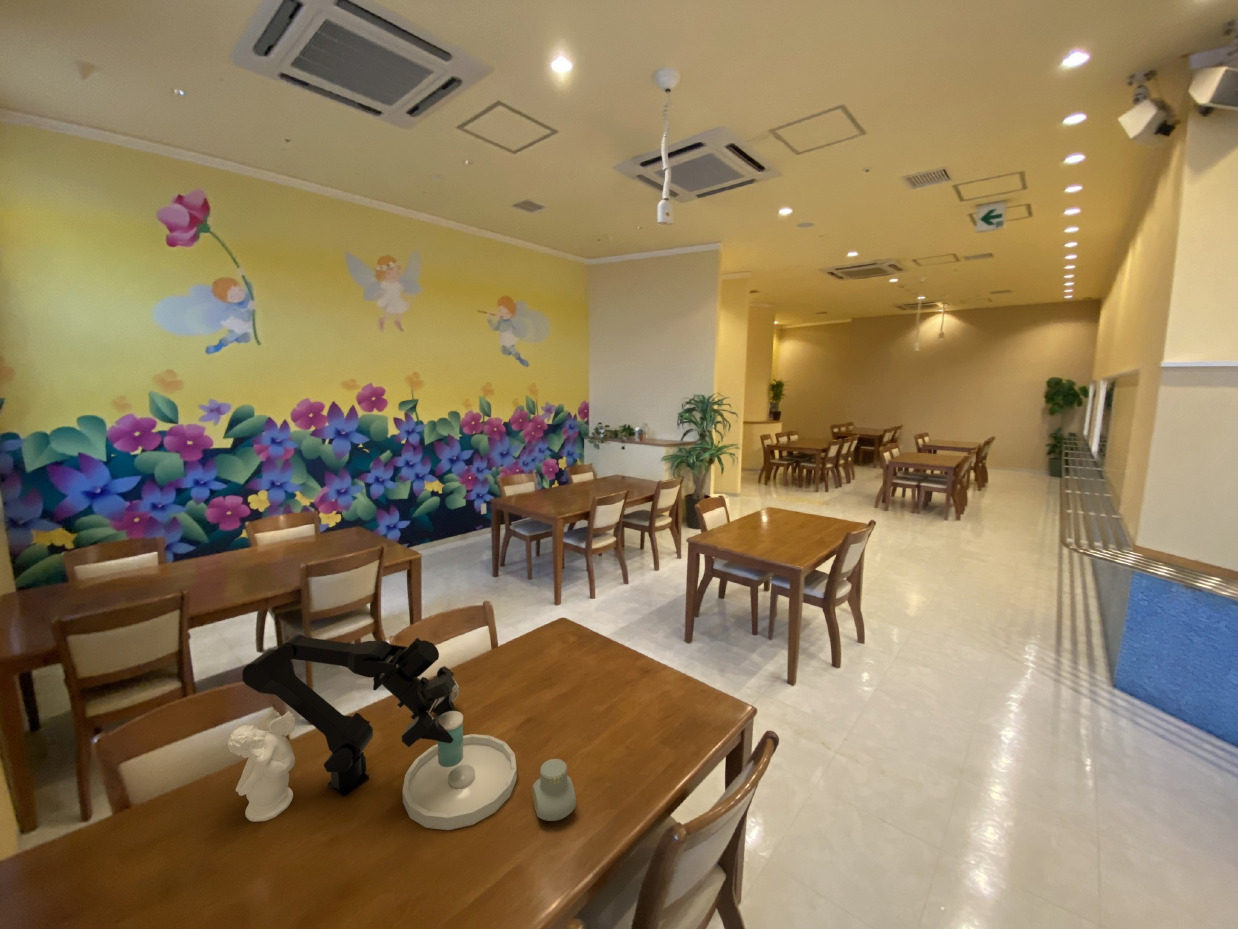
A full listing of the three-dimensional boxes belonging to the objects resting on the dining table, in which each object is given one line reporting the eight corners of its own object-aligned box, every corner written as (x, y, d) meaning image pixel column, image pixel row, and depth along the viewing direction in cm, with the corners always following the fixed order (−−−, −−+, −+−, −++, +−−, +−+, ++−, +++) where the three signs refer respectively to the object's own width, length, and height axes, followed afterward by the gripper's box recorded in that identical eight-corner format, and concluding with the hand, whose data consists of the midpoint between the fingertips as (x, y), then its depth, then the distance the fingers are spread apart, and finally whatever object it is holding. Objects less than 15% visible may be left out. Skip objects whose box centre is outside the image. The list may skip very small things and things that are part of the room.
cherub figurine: (231, 828, 104) (218, 734, 100) (257, 782, 115) (246, 697, 112) (297, 815, 107) (286, 723, 103) (315, 772, 119) (306, 688, 115)
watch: (461, 714, 141) (460, 679, 139) (432, 723, 137) (430, 686, 135) (457, 703, 146) (456, 669, 144) (429, 712, 142) (427, 676, 140)
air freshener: (530, 794, 114) (530, 755, 112) (565, 784, 116) (565, 746, 115) (540, 834, 103) (540, 791, 102) (578, 822, 106) (578, 781, 105)
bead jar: (462, 766, 113) (461, 726, 111) (435, 768, 112) (434, 728, 110) (465, 748, 119) (464, 710, 117) (440, 750, 118) (438, 712, 116)
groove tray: (460, 849, 100) (459, 836, 99) (379, 799, 111) (378, 787, 111) (537, 767, 121) (537, 756, 121) (463, 733, 133) (462, 723, 133)
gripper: (415, 689, 102) (469, 739, 104) (445, 644, 121) (490, 686, 123) (378, 723, 104) (432, 771, 105) (414, 673, 122) (459, 715, 124)
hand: (456, 732), depth 114 cm, fingers closed on bead jar, 6 cm apart
